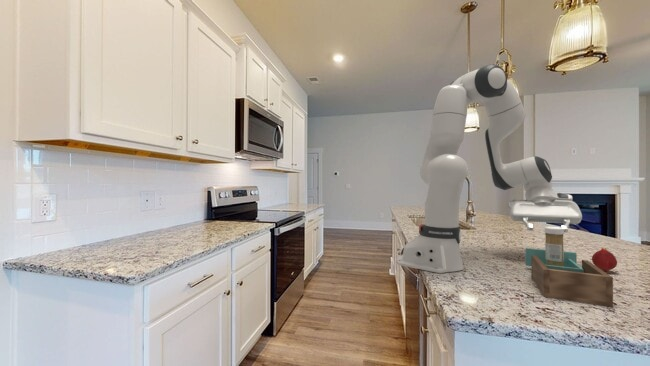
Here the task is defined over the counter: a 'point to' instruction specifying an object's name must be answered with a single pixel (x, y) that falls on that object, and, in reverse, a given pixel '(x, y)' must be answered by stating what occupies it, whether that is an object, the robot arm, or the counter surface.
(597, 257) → the onion
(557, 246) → the pill bottle
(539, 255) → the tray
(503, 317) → the counter surface
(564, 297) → the open wooden box
